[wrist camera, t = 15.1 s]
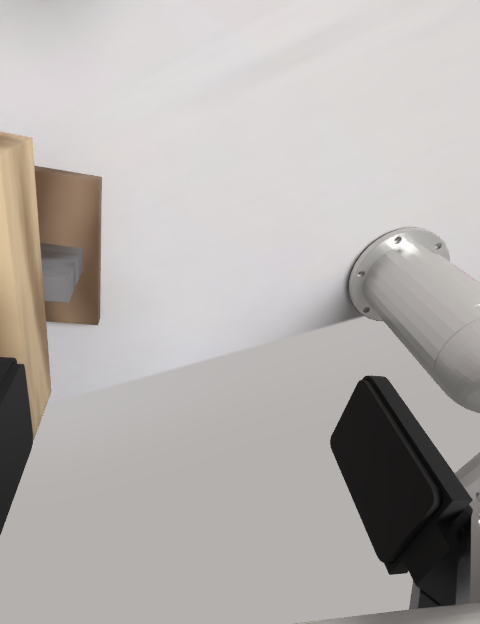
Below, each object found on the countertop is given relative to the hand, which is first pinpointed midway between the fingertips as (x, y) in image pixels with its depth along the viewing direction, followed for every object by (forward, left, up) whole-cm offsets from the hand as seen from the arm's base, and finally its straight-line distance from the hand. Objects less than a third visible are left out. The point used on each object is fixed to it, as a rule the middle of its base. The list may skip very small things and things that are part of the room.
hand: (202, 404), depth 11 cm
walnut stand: (+13, +10, -30) cm, 34 cm away
